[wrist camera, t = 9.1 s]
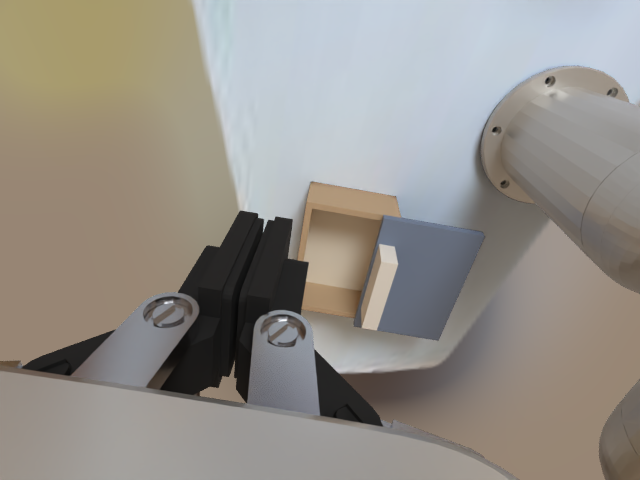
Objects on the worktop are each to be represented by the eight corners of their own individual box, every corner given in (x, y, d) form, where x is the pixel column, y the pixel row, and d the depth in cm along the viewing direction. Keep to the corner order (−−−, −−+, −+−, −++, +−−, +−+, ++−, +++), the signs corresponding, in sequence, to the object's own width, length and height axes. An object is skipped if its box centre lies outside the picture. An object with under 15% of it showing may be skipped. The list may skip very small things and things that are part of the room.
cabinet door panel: (482, 232, 36) (495, 253, 33) (436, 335, 43) (444, 362, 39) (383, 214, 36) (386, 234, 32) (353, 321, 42) (354, 347, 39)
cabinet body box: (395, 196, 40) (401, 218, 36) (368, 292, 47) (369, 320, 43) (311, 181, 40) (306, 201, 36) (295, 280, 47) (289, 307, 42)
